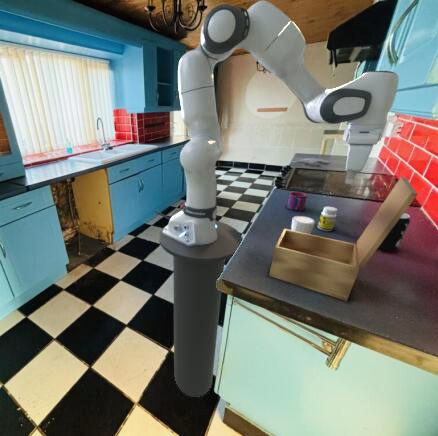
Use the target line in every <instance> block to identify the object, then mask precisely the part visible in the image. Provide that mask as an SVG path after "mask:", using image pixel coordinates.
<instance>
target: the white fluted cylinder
mask: <svg viewBox="0 0 438 436" xmlns="http://www.w3.org/2000/svg"><path fill="white" fill-rule="evenodd" d="M315 223H316V221H315V220H314V219H313V218H311V217H309V216H305V215H295V216H293V217H292V220H291V226H290V227H291V228H290V230H293V231H297V232H302V233H307V234H311V233H312V231H313V228H314V226H315Z"/></svg>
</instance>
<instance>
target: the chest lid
mask: <svg viewBox="0 0 438 436" xmlns="http://www.w3.org/2000/svg"><path fill="white" fill-rule="evenodd" d="M418 195H419V194H418V192H417V191H416V189H415V188H414V186H412V184H411V183H410V181H409V180H408V179H407V177H404V176H400V177H399V179H398V180H397V182H396V183H395V185H394V186H393V188H392V190H391V191H390V192H389V194H388V196H387V197H386V198H385V200H384V201H383V203H381V206H380V207H379V208H378V210H377V211H376V213H375V214H374V216H373V217H372V219H371V221H370V222H369V223H368V225H367V226H366V228H365V229H364V231H363V233H361V235H360V236H359V238H358V240H357V241H356V244H357V252H358V266H360V268H364V267H365V266H366V265H367V263H368V262H369V261H370V259H371V258H372V257H373V255H374V254H375V253H376V251H377V250H378V249H377V248H378V247H379V246H380V244H381V243H382V242H383V240H384V239H385V238H386V236H387V235H388V234H389V232H390V231H391V230H392V228H393V227H394V226H395V224H396V223H397V222H398V220H399V219H400V218H401V216H402V215H403V213H405V212H406V211H407V209H409V207H410V206H411V204H412V202H413V201H414V200H415V199H416V198H417V196H418Z"/></svg>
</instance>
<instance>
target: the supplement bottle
mask: <svg viewBox="0 0 438 436" xmlns="http://www.w3.org/2000/svg"><path fill="white" fill-rule="evenodd" d="M337 213H338V208H336V207H334V206H324V207H323V210H322V211H321V213H320V216H319V220H318V224H317V228H318V229H319V230H321V231H325V232H330V231H333V229H334V226H335V223H336V220H337V216H338V214H337Z"/></svg>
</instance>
